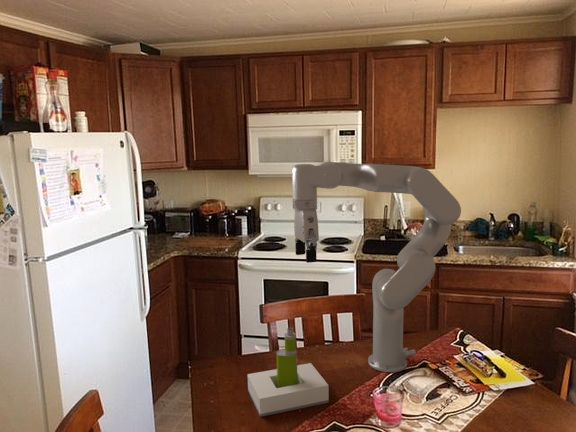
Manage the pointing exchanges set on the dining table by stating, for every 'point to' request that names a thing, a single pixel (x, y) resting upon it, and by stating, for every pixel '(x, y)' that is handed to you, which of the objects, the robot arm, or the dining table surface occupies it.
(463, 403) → the dining table surface
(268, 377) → the charging dock
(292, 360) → the vape
